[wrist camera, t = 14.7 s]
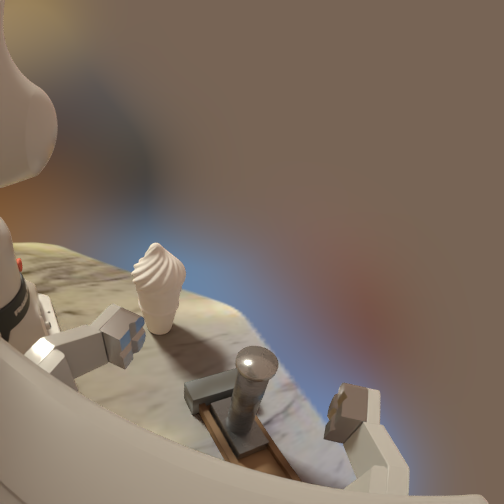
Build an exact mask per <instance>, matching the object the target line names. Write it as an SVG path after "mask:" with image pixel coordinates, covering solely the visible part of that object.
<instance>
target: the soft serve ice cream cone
mask: <svg viewBox="0 0 504 504" xmlns="http://www.w3.org/2000/svg"><path fill="white" fill-rule="evenodd" d="M134 268H135V270H134V271H133V272H132V273H131V275H132V276H133V277H134V279H133V283H134V284H136V291H137V293H138V299H139V302H138V303H139V307H140V309H141V311H142V314H143V317H144V320H145V322H146V325H147V328H148V330H149V331H150V332H151V333H153V334H157V335H162V334H166V333H168V332H169V331H170V330H171V327H172V324H173V320H174V317H175V313H176V310H177V308H178V306H179V295H180V292H181V289H182V284H183V282H184V281H185V277H186V271H185V267H184V266H183V264H182V263H181V262H180V261H179V260H178V259H177V258H176V257H174V256H173V255H172V254H171V253H169V252H168V251H167V250H166V249H164V248H163V247H162V246H161V245H160V244H159V243H153V244H152V245H151V246H150V247H149V249H148V251H147V252H146V253H145V256H144V257H143V258H141V259H140V260H139V263H137V264H135V265H134Z"/></svg>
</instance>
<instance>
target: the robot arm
mask: <svg viewBox="0 0 504 504" xmlns="http://www.w3.org/2000/svg"><path fill="white" fill-rule="evenodd" d="M4 2H5V0H0V188H2V187H4V186H8V185H11V184H14V183H17V182H20V181H23V180H25V179H28V178H31V177H34V176H37V175H38V174H39V173H40V172H41V170H42V169H43V168H44V166H45V165H46V164H47V162H48V160H49V158H50V156H51V154H52V152H53V149H54V146H55V142H56V137H57V117H56V112H55V109H54V106H53V104H52V102H51V100H50V98H49V97H48V96H47V94H46V93H45V92H44V91H43V90H42V89H41V88H39V87H37V86H36V85H35V84H33V83H32V82H30V81H29V80H28V79H27V78H26V77H25V76H24V75H23V74H22V73H21V72H20V71H19V69H18V68H17V67H16V65H15V64H14V62H13V60H12V58H11V56H10V54H9V52H8V49H7V46H6V43H5V38H4V33H3V13H4ZM21 271H22V261H21V259H20V258H18V259H16V257H15V252H14V248H13V243H12V239H11V234H10V231H9V229H8V227H7V225H6V224H5V222H4V221H3V220H2V219H1V217H0V504H489V503H488V502H487V501H486V499H485V498H484V497H483V496H481V495H474V494H473V495H458V496H408V494H409V493H408V492H409V467H408V465H407V464H406V462H405V460H404V459H403V458H402V455H401V454H400V452H399V450H398V449H397V447H396V446H395V444H394V442H393V441H392V439H391V437H390V436H389V434H388V432H387V431H386V429H385V428H384V426H383V425H380V392H379V390H374V389H369V388H366V387H361V386H356V385H352V384H347V383H342V384H341V386H340V388H339V392H338V394H335V395H334V397H333V399H332V401H331V403H330V406H329V410H328V415H327V416H328V418H329V422H328V423H327V424H326V427H325V434H324V439H325V440H329V441H334V442H338V443H342V444H343V446H344V448H345V451H346V453H347V455H348V458H349V460H350V463H351V465H352V468H353V470H354V473H355V475H356V478H357V480H355V481H354V482H352V483H351V484H350V485H348V486H347V487H346V488H344V489H337V488H331V487H325V486H320V485H314V484H309V483H304V482H300V481H295V480H291V479H287V478H282V477H278V476H274V475H271V474H267V473H263V472H260V471H256V470H253V469H249V468H246V467H243V466H239V465H236V464H233V463H230V462H227V461H224V460H221V459H218V458H215V457H213V456H210V455H207V454H204V453H202V452H199V451H196V450H194V449H191V448H189V447H186V446H184V445H181V444H179V443H176V442H174V441H172V440H169V439H167V438H165V437H163V436H160V435H158V434H156V433H154V432H152V431H149V430H147V429H145V428H143V427H141V426H139V425H137V424H135V423H133V422H131V421H129V420H127V419H125V418H123V417H121V416H119V415H117V414H115V413H114V412H112V411H110V410H108V409H106V408H104V407H103V406H101V405H99V404H97V403H96V402H94V401H92V400H90V399H89V398H87V397H85V396H84V395H82V394H80V393H79V392H77V391H78V388H77V385H76V383H75V381H74V379H75V378H77V377H79V376H81V375H83V374H85V373H87V372H90V371H92V370H94V369H96V368H98V367H100V366H102V365H105V364H107V363H108V362H110V363H112V364H114V365H117V366H119V367H121V368H123V369H126V368H127V366H128V365H129V364H130V362H131V361H132V360H133V354H134V353H137V352H139V351H140V349H141V348H142V346H143V344H144V341H145V336H146V335H145V330H144V329H143V325H144V324H145V322H144V318H143V317H142V316H139V315H137V314H135V313H133V312H131V311H129V310H126V309H124V308H122V307H120V306H117V305H115V304H111V305H109V306H108V307H107V308H106V309H105V310H104V311H103V312H102V313H101V314H100V315H99V316H98V317H97V318H96V319H95V320H94V321H93V322H92V323H91V324H90V325H87V324H86V325H82V326H79V327H76V328H72V329H69V330H66V331H62V332H61V331H60V328H59V325H58V322H57V319H56V315H55V312H54V309H53V306H52V303H51V300H50V297H49V296H47V295H43V294H38V293H37V289H36V286H35V284H34V283H32V282H30V281H26V280H25V279H24V278H23V276H22V274H21Z"/></svg>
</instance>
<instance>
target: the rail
mask: <svg viewBox="0 0 504 504" xmlns="http://www.w3.org/2000/svg"><path fill="white" fill-rule="evenodd" d="M237 372H238V371H237V369H236V368H235V369H232V370H228V371H225V372H221V373H218V374H214V375H211V376H207V377H204V378H200V379H196V380H193V381H189V382H185V383H184V399H185V401H186V403H187V405H188V407H189V409H190V411H191V413H192V415H194V414H197V413H199V414H200V416H201V418H202V420H203V422H204V423H205V425H206V427H207V429H208V431H209V433H210V435H211V437H212V438H213V440H214V442H215V444H216V446H217V448H218V449H219V451H220V453H221V455H222V456H223V458H224V460H225V461H227V462H230V463H233V464H236V465H239V466H243V467H246V468H249V469H253V470H256V471H260V472H263V473H267V474H271V475H274V476H278V477H282V478H287V479H291V480H295V481H300V482H302V481H301V480H300V478H299V477H298V476H297V474H296V473H295V471H294V470H293V469H292V467H291V466H290V464H289V463H288V462H287V460H286V459H285V457H284V456H283V454H282V453H281V452H280V450H279V449H278V447H277V446H276V444H275V443H274V441H273V440H272V438H271V437H270V435H269V434H268V432H267V431H266V429H265V428H264V426H263V425H262V423H261V422H260V420H259V419H258V417H257V416H255V419H254V420H255V421H256V423H257V424H258V426H259V427H260V429H261V430H262V432H263V433H264V435H265V436H266V438H267V439H268V441H269V443H268V445H267V447H266V448H265V449H263V450H260V451H258V452H256V453H253V454H251V455H248V456H246V457H243V458H241V459H237V458H236V456H235V454H234V453H233V451H232V449H231V448H230V446H229V444H228V443H227V441H226V439H225V437H224V436H223V434H222V432H221V430H220V428H219V427H218V425H217V423H216V421H215V419H214V418H213V416H212V414H211V412H210V405H211V403H213V402H216V401H219V400H223V399H226V398H229V397H232V394H233V390H234V385H235V381H236V377H237Z"/></svg>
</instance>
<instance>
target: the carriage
mask: <svg viewBox="0 0 504 504" xmlns="http://www.w3.org/2000/svg"><path fill="white" fill-rule="evenodd" d="M235 365H236V369H237V371H238V372H237V377H236V381H235V385H234V390H233V394H232V397H229V398H226V399H223V400H219V401H216V402H213V403H211V405H210V412H211V414H212V416H213V418H214V419H215V421H216V423H217V425H218V427H219V428H220V430H221V432H222V434H223V436H224V437H225V439H226V441H227V443H228V444H229V446H230V448H231V449H232V451H233V453H234V454H235V456H236V458H237V459H241V458H243V457H246V456H248V455H251V454H253V453H256V452H258V451H260V450H263V449H265V448H266V447H267V445H268V443H269V441H268V439H267V438H266V436H265V435H264V433H263V432H262V430H261V429H260V427H259V426H258V424H257V423H256V421H255V420H254V419H255V416H256V414H257V411H258V408H259V406H260V403H261V400H262V398H263V395H264V392H265V390H266V387H267V384H268V381H269V380H270V379H271V378H272V377H273V376H274V375H275V374H276V371H277V369H278V360H277V358H276V356H275V355H274V354H273V353H272V352H271V351H270V350H268V349H266V348H263V347H260V346H249V347H246V348H244V349H242V350H241V351H240V352H239V353H238V355H237V357H236V363H235Z"/></svg>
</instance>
